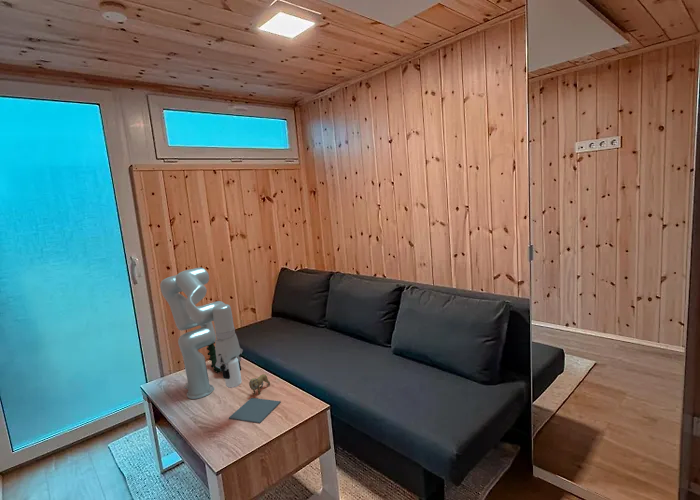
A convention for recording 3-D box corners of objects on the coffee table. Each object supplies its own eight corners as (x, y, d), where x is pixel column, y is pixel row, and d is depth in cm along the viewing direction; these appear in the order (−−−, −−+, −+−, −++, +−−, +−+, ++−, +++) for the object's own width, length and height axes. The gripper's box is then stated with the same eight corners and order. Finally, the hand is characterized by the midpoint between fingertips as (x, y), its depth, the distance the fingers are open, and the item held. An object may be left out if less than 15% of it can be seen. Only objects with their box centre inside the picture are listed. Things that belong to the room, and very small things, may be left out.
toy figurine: (206, 371, 217) (224, 380, 198) (199, 340, 216) (217, 345, 197) (222, 365, 223) (241, 373, 204) (215, 334, 222) (234, 339, 203)
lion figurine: (258, 399, 177) (255, 381, 176) (248, 398, 178) (245, 380, 177) (272, 383, 191) (269, 366, 190) (262, 383, 192) (260, 366, 191)
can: (236, 388, 158) (232, 361, 156) (223, 388, 159) (218, 361, 158) (244, 380, 164) (240, 354, 162) (231, 380, 165) (226, 354, 164)
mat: (229, 418, 163) (228, 417, 163) (251, 398, 178) (251, 397, 178) (260, 423, 157) (259, 422, 157) (280, 402, 171) (280, 401, 171)
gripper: (232, 326, 168) (239, 364, 170) (203, 341, 152) (210, 383, 155) (246, 327, 165) (252, 365, 167) (217, 342, 149) (225, 385, 152)
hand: (232, 373), depth 161 cm, fingers closed on can, 6 cm apart
